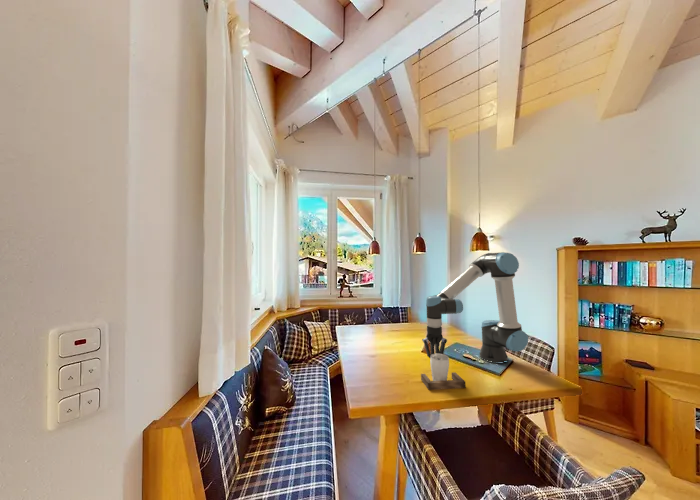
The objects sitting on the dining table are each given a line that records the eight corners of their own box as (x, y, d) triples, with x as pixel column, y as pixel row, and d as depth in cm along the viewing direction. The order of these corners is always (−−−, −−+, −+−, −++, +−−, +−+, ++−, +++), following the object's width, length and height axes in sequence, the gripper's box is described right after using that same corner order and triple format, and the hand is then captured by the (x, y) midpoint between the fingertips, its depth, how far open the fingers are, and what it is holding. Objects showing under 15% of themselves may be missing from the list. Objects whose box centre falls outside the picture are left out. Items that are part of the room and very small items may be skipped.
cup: (450, 386, 123) (450, 361, 123) (430, 384, 126) (430, 359, 126) (448, 377, 132) (448, 354, 132) (429, 375, 134) (429, 352, 134)
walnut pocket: (455, 378, 131) (455, 372, 132) (465, 388, 121) (465, 381, 122) (421, 379, 130) (421, 373, 130) (428, 389, 120) (428, 383, 120)
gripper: (443, 323, 140) (444, 367, 139) (419, 324, 139) (420, 368, 138) (449, 327, 132) (450, 373, 131) (424, 328, 131) (425, 374, 130)
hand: (435, 371), depth 135 cm, fingers closed
